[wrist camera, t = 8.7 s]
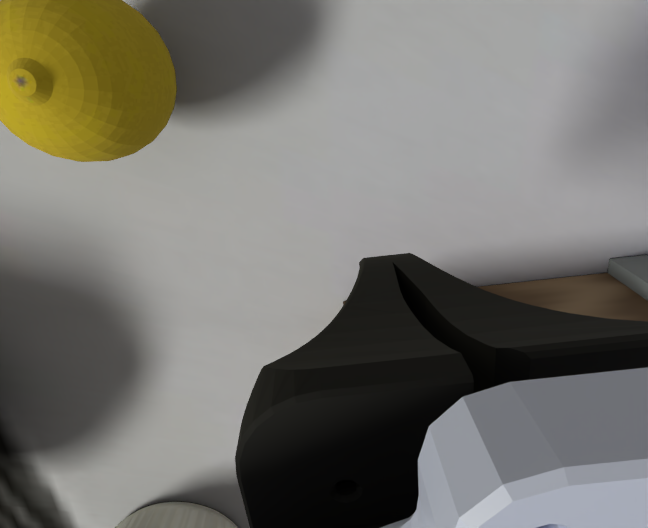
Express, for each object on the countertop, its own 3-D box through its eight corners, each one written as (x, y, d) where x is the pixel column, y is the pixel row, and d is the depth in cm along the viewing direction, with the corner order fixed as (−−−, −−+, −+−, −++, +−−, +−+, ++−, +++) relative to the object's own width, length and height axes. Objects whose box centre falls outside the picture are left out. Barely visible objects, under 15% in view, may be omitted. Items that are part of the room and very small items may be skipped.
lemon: (191, 3, 18) (111, -38, 11) (201, 144, 20) (141, 189, 13) (50, -3, 18) (-129, -49, 11) (77, 139, 20) (-56, 183, 13)
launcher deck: (607, 272, 24) (701, 338, 18) (586, 392, 27) (661, 480, 21) (343, 301, 24) (353, 375, 18) (354, 416, 27) (366, 509, 21)
